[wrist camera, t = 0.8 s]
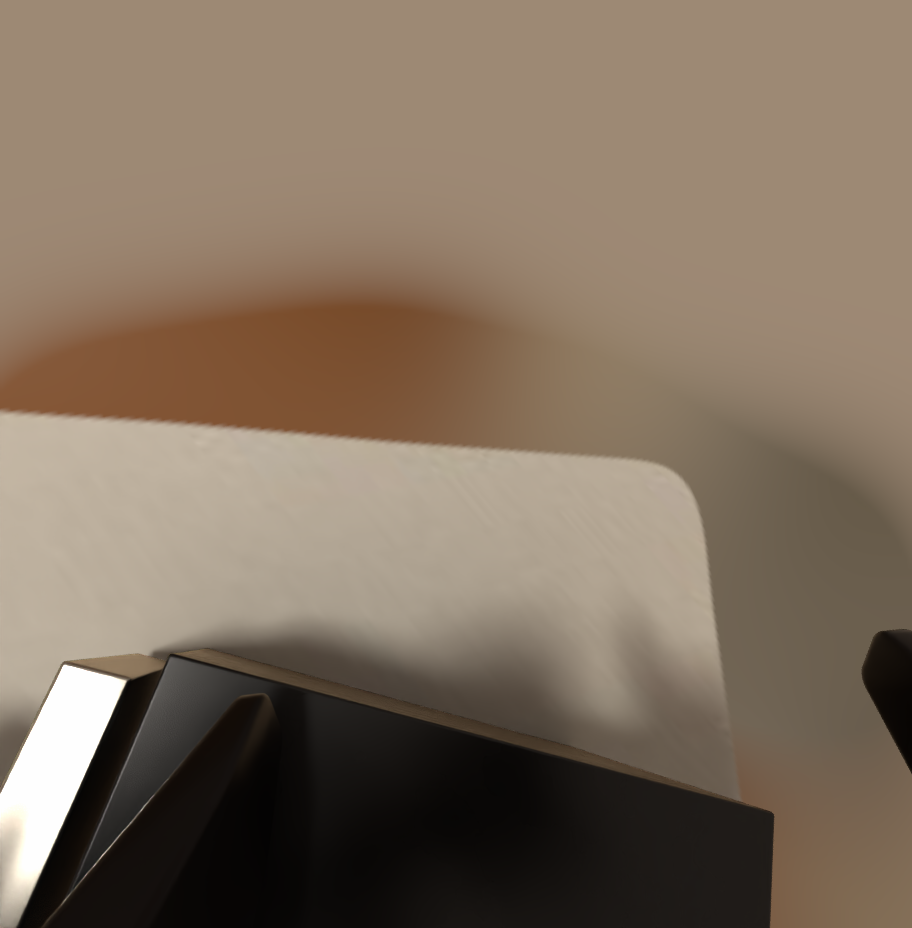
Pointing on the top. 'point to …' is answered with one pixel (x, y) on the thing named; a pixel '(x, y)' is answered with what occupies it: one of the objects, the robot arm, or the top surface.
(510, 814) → the small drawer cabinet
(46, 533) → the top surface
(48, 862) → the dish drawer
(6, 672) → the top surface
